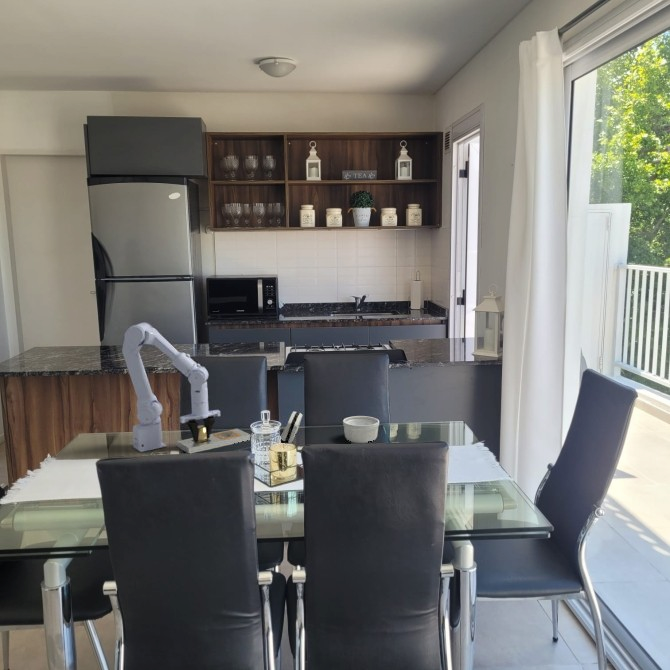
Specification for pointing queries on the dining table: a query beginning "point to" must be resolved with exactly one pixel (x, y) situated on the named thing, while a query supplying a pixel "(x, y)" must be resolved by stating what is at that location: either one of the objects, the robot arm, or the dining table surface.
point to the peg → (202, 434)
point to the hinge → (291, 427)
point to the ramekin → (361, 428)
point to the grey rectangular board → (214, 441)
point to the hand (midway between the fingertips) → (201, 438)
